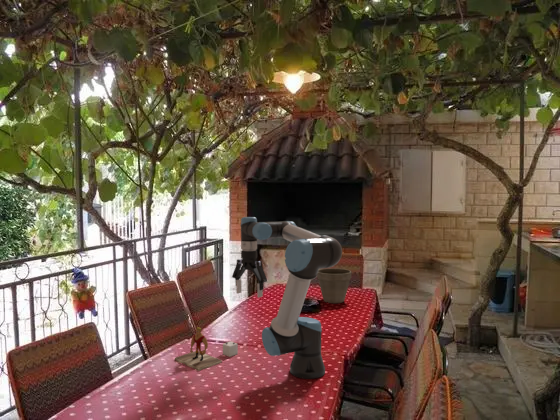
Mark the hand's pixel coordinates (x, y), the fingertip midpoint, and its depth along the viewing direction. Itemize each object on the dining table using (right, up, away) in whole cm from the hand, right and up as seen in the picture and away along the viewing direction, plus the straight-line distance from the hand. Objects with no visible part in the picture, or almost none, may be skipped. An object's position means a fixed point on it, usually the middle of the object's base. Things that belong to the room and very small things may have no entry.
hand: (249, 295), depth 209 cm
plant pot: (+53, -25, +108) cm, 122 cm away
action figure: (-23, -28, -6) cm, 37 cm away
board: (-23, -29, -6) cm, 38 cm away
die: (-9, -29, +3) cm, 31 cm away
